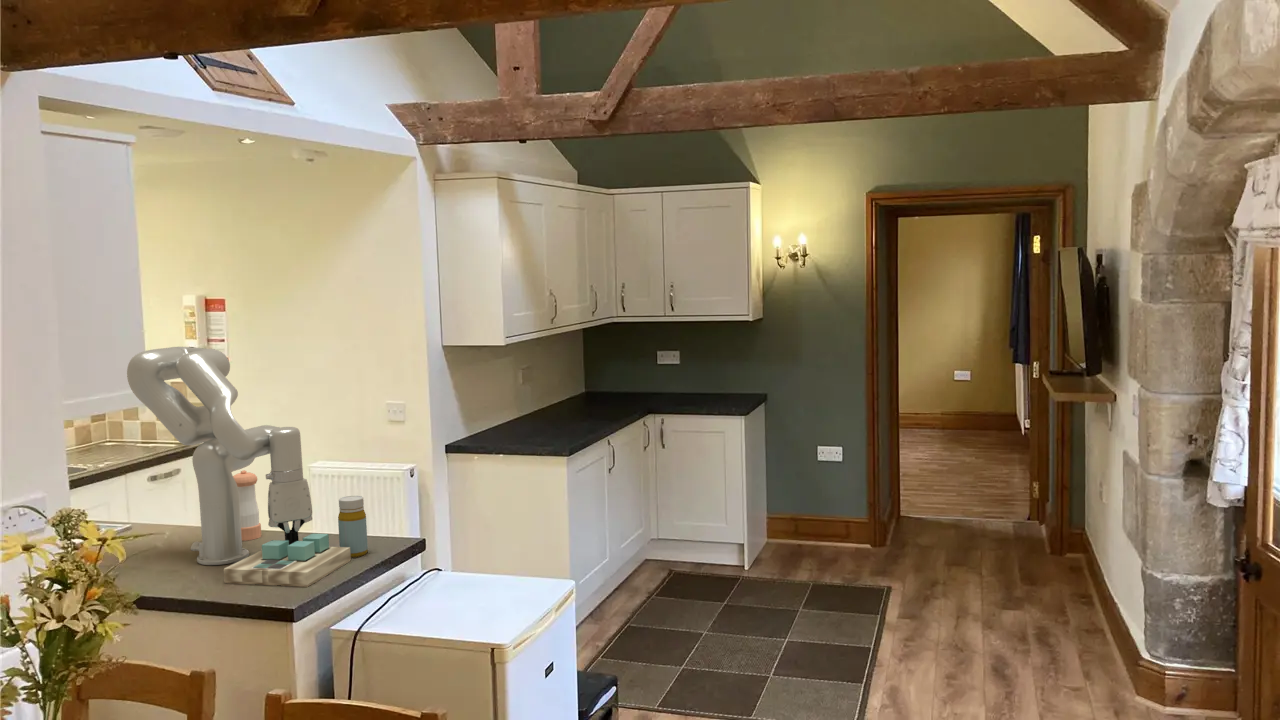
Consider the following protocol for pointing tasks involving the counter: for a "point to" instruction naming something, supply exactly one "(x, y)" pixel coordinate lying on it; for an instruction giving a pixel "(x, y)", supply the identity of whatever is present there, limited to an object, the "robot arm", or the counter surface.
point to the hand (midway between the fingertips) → (292, 546)
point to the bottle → (353, 525)
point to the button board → (287, 568)
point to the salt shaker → (248, 505)
